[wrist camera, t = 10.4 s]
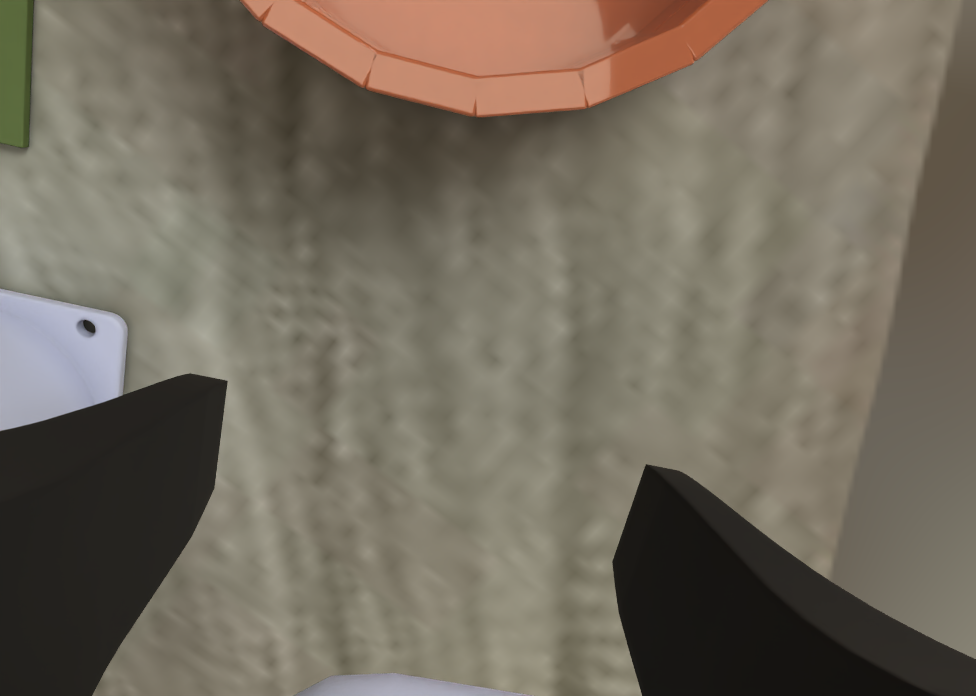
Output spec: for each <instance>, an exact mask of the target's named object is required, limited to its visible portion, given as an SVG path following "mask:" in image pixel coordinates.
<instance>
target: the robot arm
mask: <svg viewBox="0 0 976 696" xmlns="http://www.w3.org/2000/svg"><path fill="white" fill-rule="evenodd" d="M84 320H88V321H90V322H92V323H93V324H94V326H95V329H96V332H95V333H91V332H89V331H87V330H86V329H85V327H84V324H83V321H84ZM127 339H128V328H127V325H126V323H125V321H124V320H123V319H122V318H121V317H120V316H119V315H117V314H115V313H112V312H108V311H103V310H99V309H94V308H89V307H85V306H80V305H75V304H71V303H66V302H61V301H56V300H52V299H47V298H42V297H38V296H33V295H28V294H24V293H19V292H14V291H10V290H5V289H0V696H92V695H93V693H94V691H95V689H96V687H97V685H98V683H99V681H100V679H101V677H102V675H103V673H104V672H105V670H106V668H107V666H108V665H109V663H110V661H111V660H112V658H113V656H114V655H115V653H116V651H117V650H118V648H119V646H120V645H121V643H122V641H123V640H124V638H125V637H126V635H127V634H128V632H129V631H130V629H131V628H132V626H133V625H134V623H135V622H136V620H137V619H138V617H139V616H140V614H141V613H142V611H143V610H144V608H145V607H146V605H147V604H148V602H149V601H150V599H151V598H152V596H153V595H154V593H155V592H156V590H157V589H158V587H159V586H160V584H161V583H162V581H163V580H164V578H165V577H166V575H167V574H168V572H169V571H170V569H171V568H172V566H173V565H174V563H175V561H176V560H177V558H178V557H179V555H180V554H181V552H182V551H183V549H184V548H185V546H186V545H187V543H188V541H189V540H190V538H191V537H192V535H193V533H194V531H195V528H196V526H197V524H198V522H199V520H200V518H201V516H202V514H203V512H204V510H205V507H206V505H207V503H208V501H209V499H210V496H211V494H212V492H213V490H214V486H215V478H216V470H217V462H218V454H219V446H220V438H221V430H222V421H223V413H224V405H225V397H226V389H227V381H225V380H220V379H215V378H210V377H205V376H200V375H195V374H185V375H181V376H177V377H174V378H171V379H168V380H165V381H162V382H159V383H156V384H153V385H150V386H148V387H145V388H142V389H139V390H136V391H134V392H131V393H128V394H125V395H123V386H124V374H125V362H126V351H127ZM612 562H613V571H614V580H615V589H616V596H617V603H618V610H619V615H620V618H621V622H622V626H623V630H624V633H625V637H626V640H627V644H628V648H629V651H630V655H631V658H632V662H633V665H634V669H635V672H636V675H637V679H638V682H639V686H640V689H641V693H642V696H976V659H974V658H971V657H969V656H967V655H965V654H963V653H961V652H959V651H957V650H954V649H952V648H950V647H948V646H946V645H944V644H942V643H940V642H937V641H935V640H934V639H932V638H930V637H928V636H925V635H924V634H922V633H920V632H918V631H916V630H914V629H912V628H910V627H908V626H906V625H905V624H903V623H901V622H899V621H897V620H895V619H893V618H891V617H889V616H888V615H885V614H884V613H882V612H880V611H879V610H877V609H875V608H873V607H871V606H869V605H868V604H866V603H865V602H863V601H862V600H860V599H858V598H857V597H855V596H853V595H852V594H850V593H849V592H847V591H845V590H844V589H842V588H840V587H839V586H837V585H835V584H834V583H832V582H831V581H829V580H828V579H826V578H825V577H823V576H822V575H820V574H819V573H817V572H816V571H814V570H813V569H811V568H810V567H808V566H807V565H806V564H804V563H803V562H801V561H800V560H799V559H797V558H796V557H794V556H793V555H792V554H790V553H789V552H787V551H786V550H785V549H783V548H782V547H780V546H779V545H778V544H776V543H775V542H774V541H772V540H771V539H770V538H768V537H767V536H766V535H765V534H763V533H762V532H761V531H759V530H758V529H757V528H756V527H754V526H753V525H752V524H750V523H749V522H748V521H747V520H745V519H744V518H743V517H742V516H740V515H739V514H738V513H737V512H735V511H734V510H733V509H731V508H730V507H729V506H728V505H726V504H725V503H724V502H723V501H721V500H720V499H719V498H718V497H716V496H715V495H714V494H712V493H711V492H710V491H709V490H707V489H706V488H705V487H703V486H702V485H701V484H699V483H698V482H696V481H695V480H694V479H692V478H690V477H689V476H687V475H686V474H684V473H682V472H680V471H677V470H672V469H667V468H662V467H657V466H652V465H647V464H646V466H645V469H644V471H643V474H642V477H641V480H640V483H639V486H638V489H637V492H636V495H635V498H634V501H633V503H632V506H631V509H630V512H629V515H628V518H627V521H626V524H625V527H624V530H623V532H622V535H621V538H620V541H619V544H618V547H617V550H616V553H615V556H614V559H613V561H612ZM293 696H532V695H526V694H520V693H514V692H508V691H502V690H496V689H489V688H483V687H477V686H471V685H465V684H459V683H453V682H447V681H441V680H434V679H428V678H422V677H416V676H410V675H404V674H398V673H382V674H359V675H336V676H329V677H328V678H326V679H324V680H322V681H320V682H318V683H316V684H314V685H312V686H311V687H309V688H307V689H305V690H303V691H301V692H299V693H297V694H295V695H293Z"/></svg>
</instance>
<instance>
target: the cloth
mask: <svg viewBox="0 0 976 696" xmlns="http://www.w3.org/2000/svg"><path fill="white" fill-rule="evenodd" d="M32 29H33V0H0V143H3V144H7V145H11V146H16V147H20V148H25V147H28V146H29V117H30V88H31V58H32Z"/></svg>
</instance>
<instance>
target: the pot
mask: <svg viewBox="0 0 976 696" xmlns="http://www.w3.org/2000/svg"><path fill="white" fill-rule="evenodd" d="M239 1H240V2H241V3H242V4H243V5H244V6H245V7H246V9H247V10H248V11H249V12H250V13H251V14H252V15H253V17H254V18H255V19H256V20H257V21H259V22H262V25H263V26H264V27H265V28H267V29H269V30H270V31H272V32H273V33H275V34H277V35H278V36H280V37H281V38H283V39H285V40H286V41H288V42H289V43H291V44H292V45H294V46H296V47H297V48H299V49H300V50H302V51H304V52H305V53H307V54H308V55H310V56H311V57H313V58H315V59H316V60H318V61H319V62H321V63H323V64H324V65H326V66H327V67H329V68H331V69H332V70H334V71H335V72H337V73H338V74H340V75H342V76H343V77H345V78H346V79H348V80H350V81H351V82H353V83H354V84H356V85H358V86H359V87H361V88H366V89H367V90H368V91H371V92H375V93H379V94H383V95H387V96H391V97H395V98H399V99H403V100H407V101H411V102H415V103H418V104H422V105H426V106H430V107H434V108H438V109H442V110H446V111H450V112H454V113H458V114H462V115H466V116H470V117H473V116H476V117H477V118H481V117H493V116H506V115H519V114H531V113H544V112H557V111H569V110H582V109H586V108H591V107H593V106H596V105H598V104H600V103H603V102H605V101H607V100H610V99H612V98H615V97H617V96H619V95H622V94H624V93H626V92H629V91H631V90H633V89H636V88H638V87H640V86H643V85H645V84H648V83H650V82H652V81H655V80H657V79H659V78H662V77H664V76H666V75H669V74H671V73H673V72H676V71H678V70H681V69H683V68H685V67H688V66H690V65H692V64H693V63H694V61H697V60H699V59H700V58H701V57H702V56H704V55H705V54H706V53H707V52H708V51H709V50H711V49H712V48H713V47H714V46H715V45H717V44H718V43H719V42H720V41H721V40H722V39H724V38H725V37H726V36H727V35H728V34H730V33H731V32H732V31H733V30H734V29H735V28H737V27H738V26H739V25H740V24H741V23H743V22H744V21H745V20H746V19H747V18H749V17H750V16H751V15H752V14H753V13H754V12H756V11H757V10H758V9H759V8H760V7H762V6H763V5H764V4H765V3H766V2H767V1H769V0H239Z"/></svg>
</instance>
